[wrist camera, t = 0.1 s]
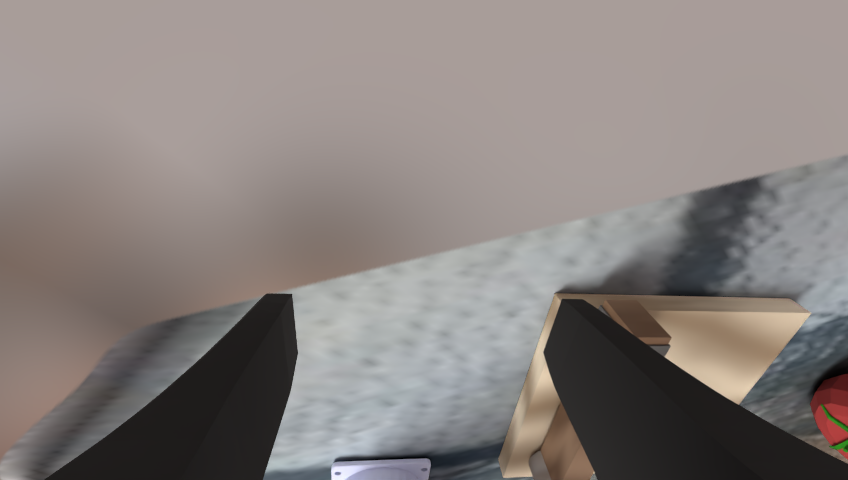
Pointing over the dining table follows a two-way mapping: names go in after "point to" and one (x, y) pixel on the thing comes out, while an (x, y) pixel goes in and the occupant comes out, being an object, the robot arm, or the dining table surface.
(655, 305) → the board
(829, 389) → the red round piece
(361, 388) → the dining table surface
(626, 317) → the lever
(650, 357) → the robot arm
